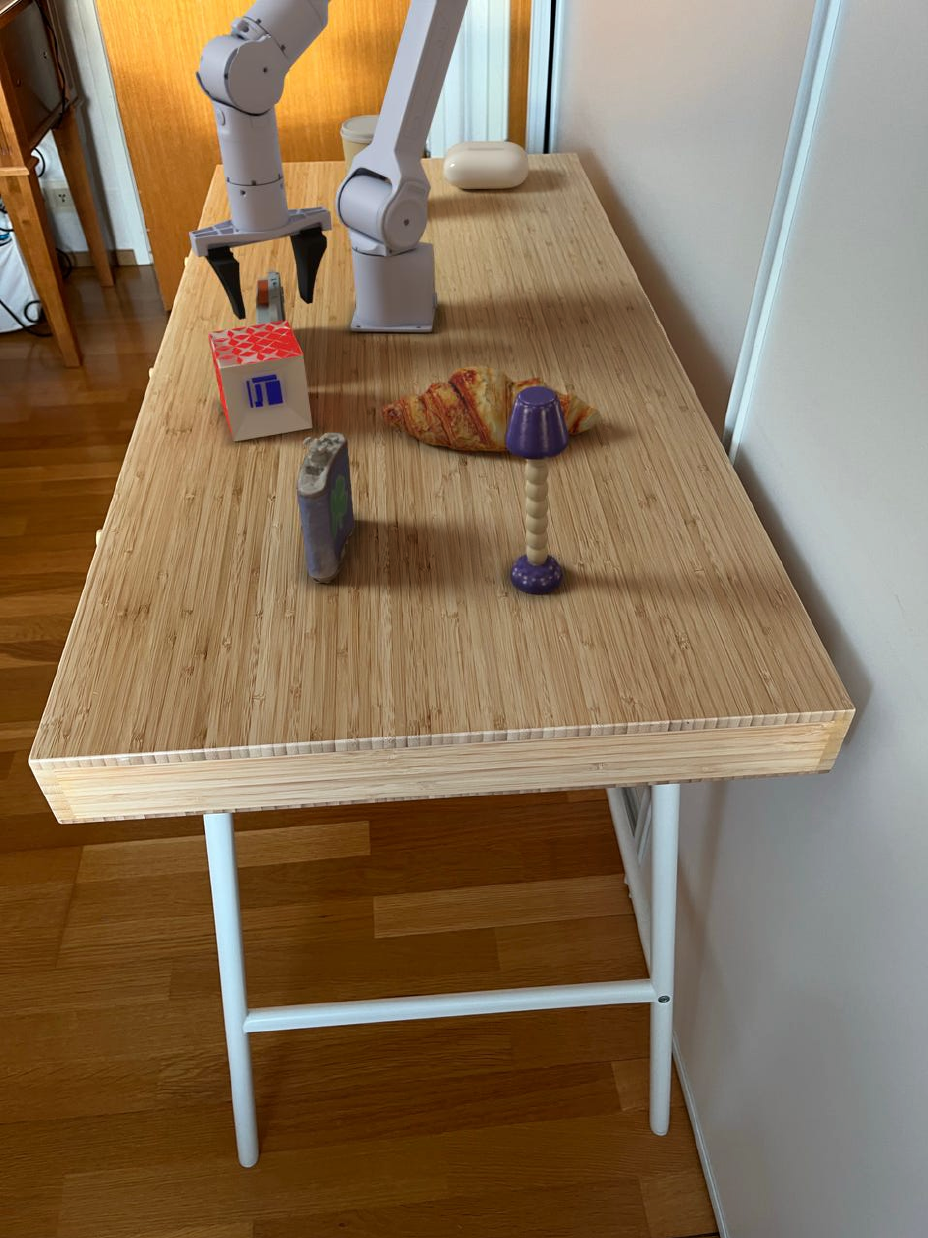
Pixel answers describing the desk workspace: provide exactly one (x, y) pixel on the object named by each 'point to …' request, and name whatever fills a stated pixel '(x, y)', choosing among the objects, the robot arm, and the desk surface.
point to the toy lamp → (536, 481)
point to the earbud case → (485, 165)
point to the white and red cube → (261, 380)
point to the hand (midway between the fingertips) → (273, 307)
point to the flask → (325, 504)
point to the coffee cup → (357, 136)
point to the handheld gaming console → (270, 299)
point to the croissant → (475, 410)
